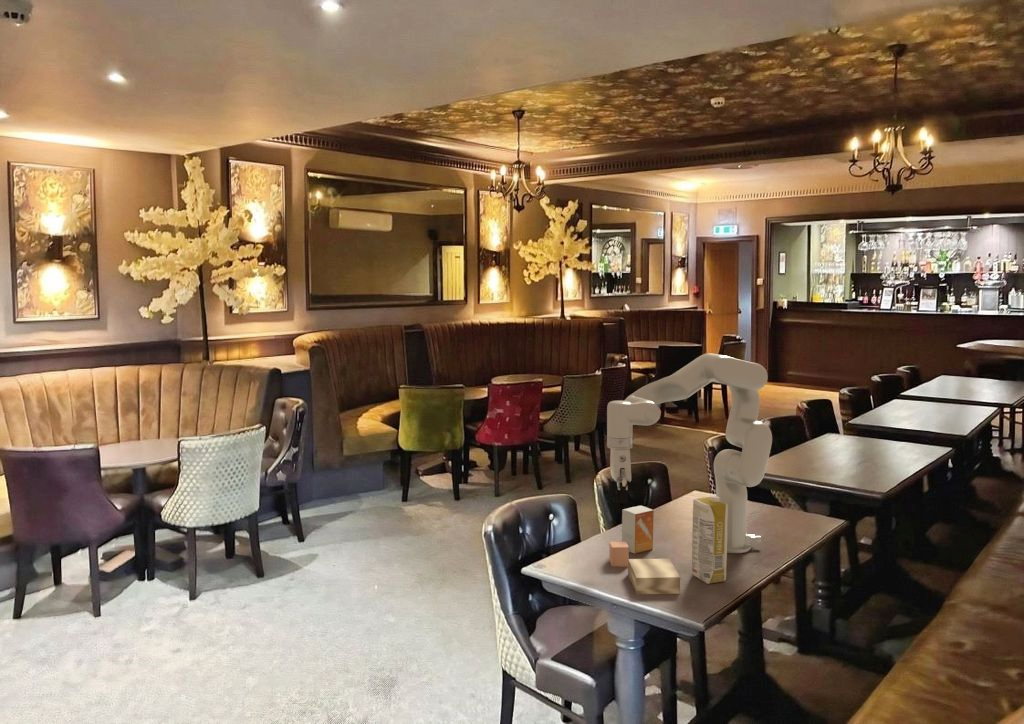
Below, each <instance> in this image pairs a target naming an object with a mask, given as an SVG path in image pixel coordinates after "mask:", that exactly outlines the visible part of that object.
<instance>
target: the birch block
mask: <svg viewBox="0 0 1024 724" xmlns="http://www.w3.org/2000/svg"><path fill="white" fill-rule="evenodd" d="M628 575H629V576H628ZM627 576H628V578H629V581H630V583H631V582H632V583H631V585H632V584H633V585H632V587H633V590H634V589H635V590H634V592H635V594H636V595H664V594H665V595H670V594H671V595H672V594H673V595H674V594H681V576H680V574H679V573H678V570H677V569H676V567H675V566H674V564H673V563H672V561H671V559H670V558H629V559H628V566H627Z"/></svg>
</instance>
